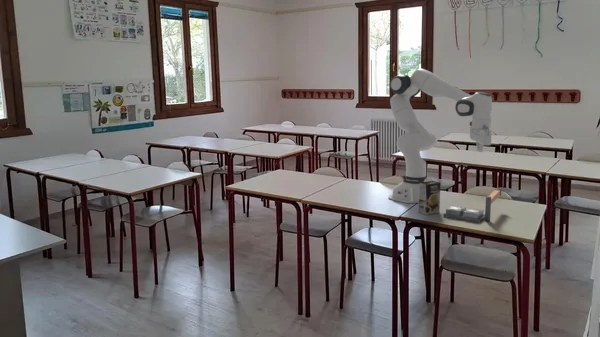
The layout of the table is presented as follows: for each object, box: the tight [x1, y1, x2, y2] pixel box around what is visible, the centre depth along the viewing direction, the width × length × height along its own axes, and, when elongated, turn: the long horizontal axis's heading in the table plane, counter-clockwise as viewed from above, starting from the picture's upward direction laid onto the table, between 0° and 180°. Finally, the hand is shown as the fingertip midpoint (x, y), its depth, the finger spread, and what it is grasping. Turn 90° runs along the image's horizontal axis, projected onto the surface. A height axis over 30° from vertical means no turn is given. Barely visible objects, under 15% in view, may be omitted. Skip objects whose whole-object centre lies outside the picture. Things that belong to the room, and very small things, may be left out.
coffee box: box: [418, 180, 441, 216], centre depth 264 cm, size 9×6×16 cm
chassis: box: [442, 204, 485, 223], centre depth 255 cm, size 18×10×4 cm, turn 51°
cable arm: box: [484, 188, 502, 222], centre depth 256 cm, size 24×3×12 cm, turn 147°
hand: (479, 151), depth 261 cm, fingers closed
